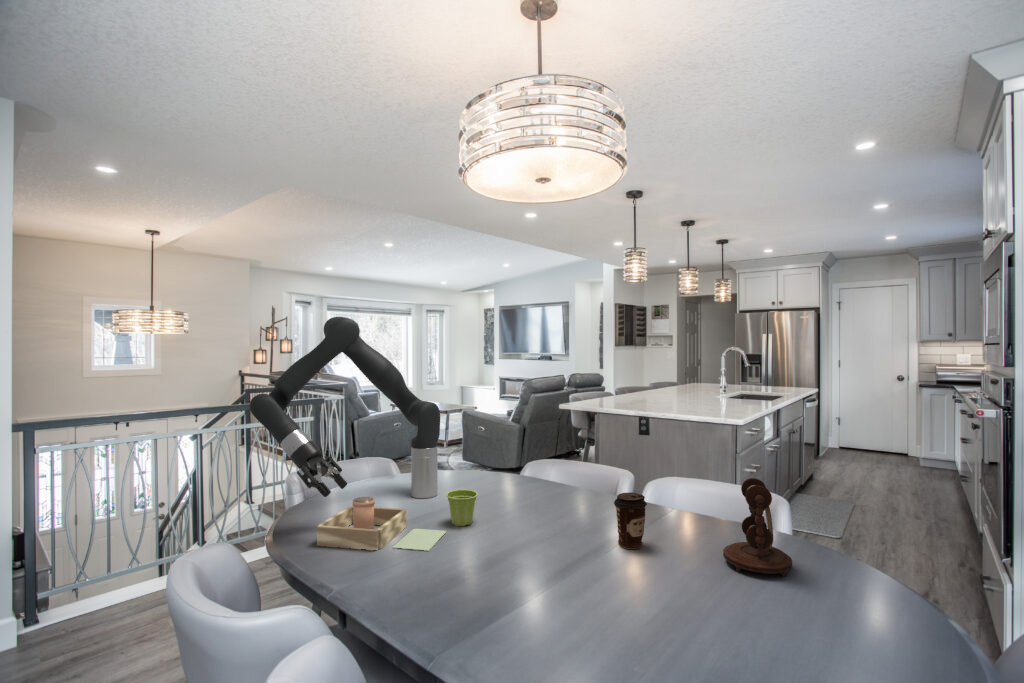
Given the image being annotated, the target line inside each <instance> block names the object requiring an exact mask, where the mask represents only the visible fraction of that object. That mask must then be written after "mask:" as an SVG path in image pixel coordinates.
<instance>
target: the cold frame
mask: <svg viewBox="0 0 1024 683" xmlns="http://www.w3.org/2000/svg"><path fill="white" fill-rule="evenodd" d="M352 523H353V505H352V506H348V507H346V508H344V509H342V510H341V511H339V512H338V513H336V514H333V515H332V516H331V517H329V518H327V519H326V520H324V521H323V522H321V523H319V524H317V526H316V546H317V547H325V546H326V547H327V548H337V547H340V549H349V548H351V549H352V550H353V549H354V550H361V549H366V550H365V551H373V550H377V551H378V550H382V549H383V548H384V547H386V546H387V545H388V544H389V543H390V542H391V541H392V540H393V538H394V537H395V536H396V535H397V534H398V533H400V532H401V531H402V530H403V529H404V528H405V529H407V509H406V508H394V507H380V506H379V507H378V506H374V526H376V525H382V526H378V528H377V529H376V528H374V529H362V528H353V527H350V526H352V525H353V524H352ZM351 524H352V525H351ZM349 525H350V526H349ZM348 526H349V527H348ZM405 529H404V530H405ZM404 530H403V531H404ZM403 531H402V532H403ZM402 532H401V533H402ZM401 533H400V534H401ZM398 535H399V534H398ZM398 535H397V536H398ZM397 536H396V537H397ZM396 537H395V538H396ZM395 538H394V539H395ZM391 539H392V540H391ZM390 540H391V541H390ZM389 541H390V542H389ZM388 542H389V543H388ZM387 543H388V544H387ZM383 546H384V547H383ZM326 547H325V548H326ZM382 547H383V548H382ZM381 548H382V549H381ZM351 549H350V550H351Z"/></svg>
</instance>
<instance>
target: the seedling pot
mask: <svg viewBox="0 0 1024 683" xmlns="http://www.w3.org/2000/svg"><path fill="white" fill-rule="evenodd" d="M351 504H352V506H353V524H352V526H353V527H352V528H362V529H375V525H374V507H375V504H376V498H375V497H373V496H359V497H356V498H353V499H352V503H351Z"/></svg>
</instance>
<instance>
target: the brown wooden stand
mask: <svg viewBox="0 0 1024 683" xmlns="http://www.w3.org/2000/svg"><path fill="white" fill-rule="evenodd" d="M740 488H741V489H740V490H741V494H742V496H743V497H744V498H745V501H746V503H747V504H748V510H749V512H750V515H749V516H747V517H745V518H743V520H742V523H741V531H742V532H743V534H744V535H745V541H738V542H734V543H731V544H729V545H727V546H725V547H724V548H723V550H722V551H723V554H722V555H723V558H724V559H725V561H726V562H728V564H729V563H730V564H731V565H732V566H734V567H735V570H736V572H737V573H740V572H741V569H742V570H745V571H750V572H754V573H761V574H780V575H781V577H782V578H785V577H786V575H787V572H789V571H790V570H792V568H793V559H792V558H791V556H790V555H788V553H786V552H784V551H782V550H781V549H779V548H778V547H777V548H776V547H775V546H773V544H774V530H773V529H774V528H773V527H774V526H773V519H772V512H771V508H770V506H771V504H772V503H773V497H772V493H771V492H770V490H769V489H768V488H767V486H766V484H765V483H764V482H763V481H762V480H760V479H758V478H755V477H751V478H747V479H746V480H744V481H743V482H742V484H741V487H740ZM764 512H765V516H766V520H765V517H764ZM765 521H766V522H765Z"/></svg>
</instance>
